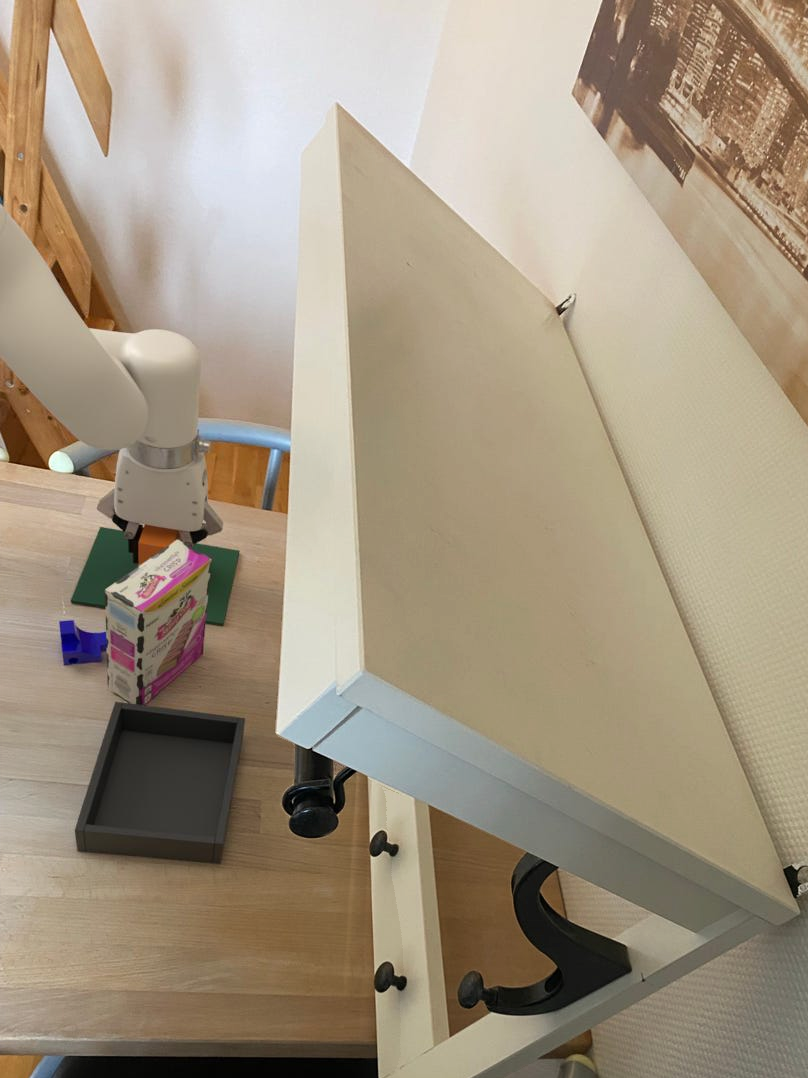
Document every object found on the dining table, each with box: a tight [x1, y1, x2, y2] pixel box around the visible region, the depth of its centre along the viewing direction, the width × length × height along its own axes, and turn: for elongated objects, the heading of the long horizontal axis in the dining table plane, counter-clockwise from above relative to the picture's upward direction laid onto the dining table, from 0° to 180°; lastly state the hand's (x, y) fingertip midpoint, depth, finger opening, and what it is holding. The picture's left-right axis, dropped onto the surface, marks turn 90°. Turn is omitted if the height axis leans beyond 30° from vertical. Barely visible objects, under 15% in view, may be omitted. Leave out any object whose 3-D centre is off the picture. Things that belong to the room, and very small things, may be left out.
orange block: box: [138, 524, 181, 566], centre depth 107 cm, size 4×7×8 cm, turn 3°
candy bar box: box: [105, 540, 212, 706], centre depth 94 cm, size 11×5×16 cm, turn 154°
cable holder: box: [58, 619, 107, 666], centre depth 98 cm, size 8×4×4 cm, turn 112°
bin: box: [74, 701, 246, 865], centre depth 88 cm, size 14×16×4 cm
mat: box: [70, 526, 240, 627], centre depth 110 cm, size 18×14×1 cm
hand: (161, 559), depth 108 cm, fingers open, 4 cm apart
